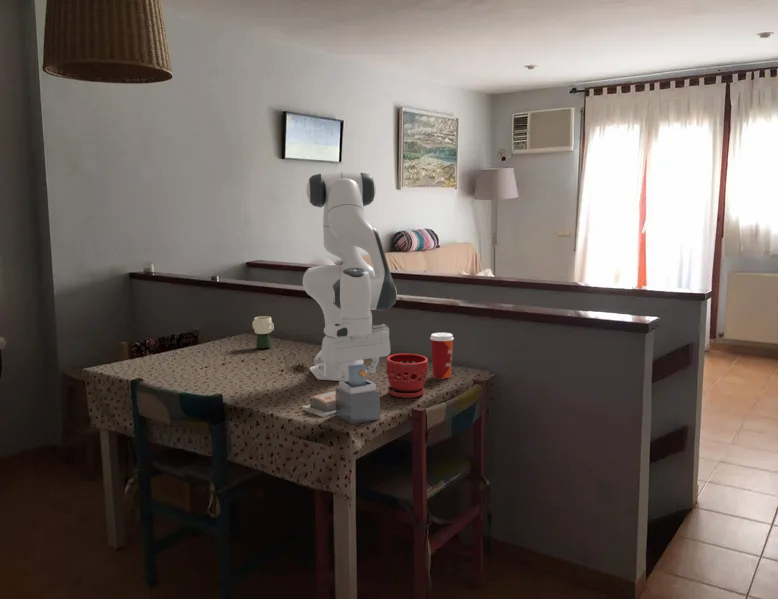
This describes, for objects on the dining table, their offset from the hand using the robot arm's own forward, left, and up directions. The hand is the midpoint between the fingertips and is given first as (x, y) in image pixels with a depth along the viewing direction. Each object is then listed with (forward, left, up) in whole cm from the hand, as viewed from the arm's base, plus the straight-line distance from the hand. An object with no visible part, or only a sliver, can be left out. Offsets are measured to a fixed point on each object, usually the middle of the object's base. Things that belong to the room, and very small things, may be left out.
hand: (357, 375), depth 190 cm
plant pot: (-12, +23, -12) cm, 29 cm away
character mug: (-101, +6, -12) cm, 102 cm away
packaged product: (-12, -1, -13) cm, 18 cm away
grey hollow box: (0, 0, -12) cm, 12 cm away
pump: (0, 0, -4) cm, 4 cm away
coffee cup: (-24, +44, -12) cm, 52 cm away
